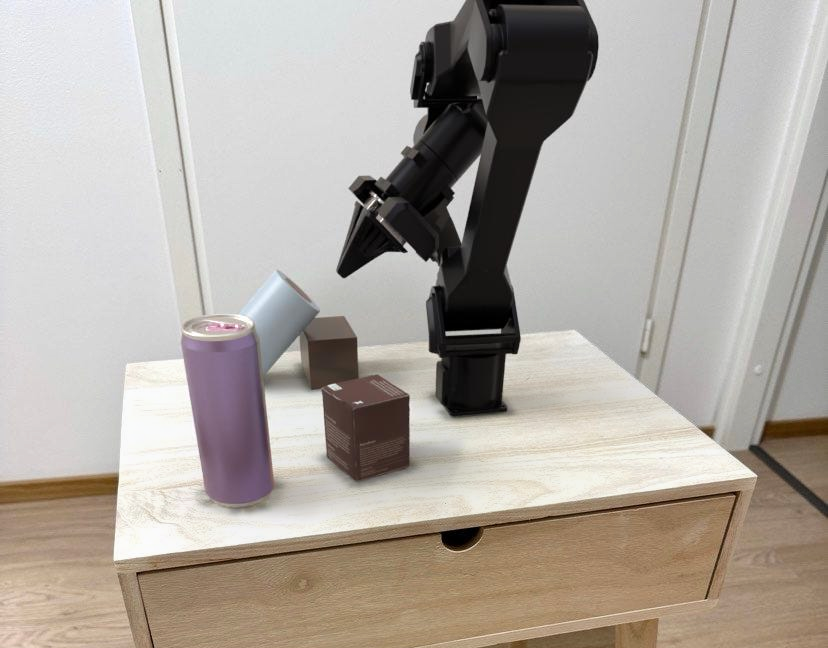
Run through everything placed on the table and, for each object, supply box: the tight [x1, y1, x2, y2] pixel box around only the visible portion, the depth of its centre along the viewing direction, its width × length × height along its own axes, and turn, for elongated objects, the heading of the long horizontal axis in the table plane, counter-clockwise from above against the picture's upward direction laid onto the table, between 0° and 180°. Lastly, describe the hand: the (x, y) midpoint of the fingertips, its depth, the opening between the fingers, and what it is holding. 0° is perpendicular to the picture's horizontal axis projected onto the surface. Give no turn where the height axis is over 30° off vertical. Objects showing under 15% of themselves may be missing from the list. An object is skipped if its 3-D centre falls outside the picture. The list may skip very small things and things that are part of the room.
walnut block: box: [298, 315, 359, 390], centre depth 88 cm, size 6×8×6 cm
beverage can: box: [180, 313, 275, 509], centre depth 62 cm, size 6×6×15 cm
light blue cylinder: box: [237, 269, 321, 377], centre depth 85 cm, size 12×6×12 cm, turn 105°
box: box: [321, 373, 411, 482], centre depth 70 cm, size 6×6×7 cm
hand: (339, 275), depth 84 cm, fingers closed
